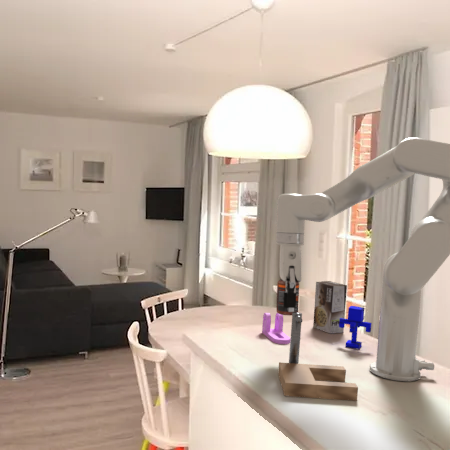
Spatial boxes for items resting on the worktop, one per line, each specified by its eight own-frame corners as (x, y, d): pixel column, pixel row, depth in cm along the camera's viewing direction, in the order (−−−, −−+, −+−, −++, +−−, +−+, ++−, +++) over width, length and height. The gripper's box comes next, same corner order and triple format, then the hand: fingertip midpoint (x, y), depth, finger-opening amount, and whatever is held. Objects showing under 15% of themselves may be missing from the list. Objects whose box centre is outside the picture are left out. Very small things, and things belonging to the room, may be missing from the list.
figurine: (349, 350, 152) (352, 310, 151) (336, 343, 159) (338, 305, 158) (371, 349, 154) (374, 310, 154) (357, 342, 161) (359, 304, 161)
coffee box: (344, 332, 173) (348, 285, 172) (329, 334, 170) (333, 285, 169) (326, 325, 181) (329, 280, 180) (312, 327, 178) (315, 280, 177)
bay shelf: (342, 378, 127) (343, 366, 127) (357, 400, 113) (358, 387, 113) (278, 374, 127) (279, 362, 127) (284, 396, 113) (285, 382, 113)
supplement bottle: (297, 316, 137) (299, 274, 137) (275, 315, 138) (276, 273, 138) (298, 312, 143) (300, 271, 142) (277, 310, 144) (278, 270, 144)
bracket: (262, 332, 166) (263, 311, 166) (278, 332, 168) (279, 311, 167) (275, 344, 154) (277, 321, 153) (292, 344, 155) (294, 321, 155)
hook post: (299, 369, 132) (304, 311, 131) (303, 378, 125) (308, 317, 124) (284, 368, 132) (288, 310, 131) (287, 377, 125) (291, 316, 124)
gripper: (309, 242, 131) (306, 312, 132) (298, 237, 148) (296, 299, 149) (279, 241, 131) (277, 311, 132) (272, 236, 148) (271, 298, 149)
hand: (287, 304), depth 141 cm, fingers closed on supplement bottle, 6 cm apart
